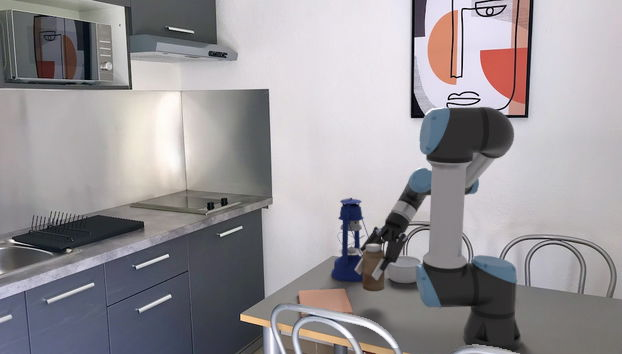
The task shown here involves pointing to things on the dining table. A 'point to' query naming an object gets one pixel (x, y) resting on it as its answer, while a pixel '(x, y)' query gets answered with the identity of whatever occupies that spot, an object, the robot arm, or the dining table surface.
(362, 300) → the dining table surface
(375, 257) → the pepper mill
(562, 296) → the dining table surface
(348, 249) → the lantern
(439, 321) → the dining table surface
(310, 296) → the plate
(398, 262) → the ramekin
